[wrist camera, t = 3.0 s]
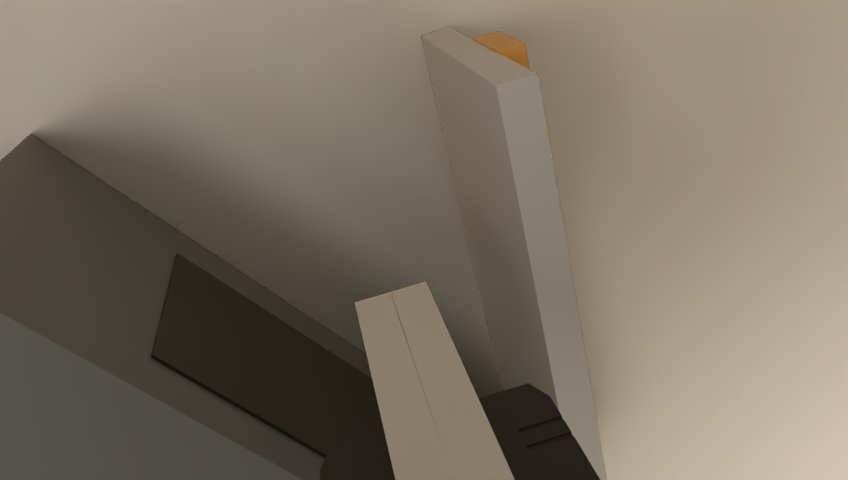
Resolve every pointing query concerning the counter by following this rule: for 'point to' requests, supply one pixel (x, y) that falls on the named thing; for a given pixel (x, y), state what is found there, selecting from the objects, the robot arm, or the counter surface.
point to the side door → (514, 220)
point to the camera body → (152, 347)
